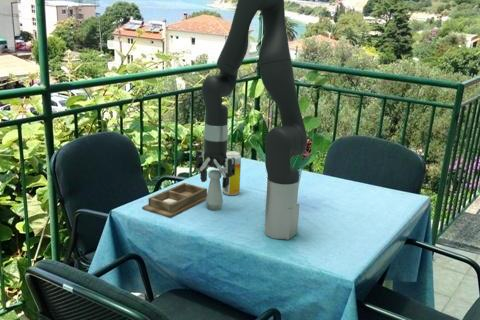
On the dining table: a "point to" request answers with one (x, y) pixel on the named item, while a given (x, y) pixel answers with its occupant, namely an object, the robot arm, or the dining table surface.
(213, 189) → the salt shaker
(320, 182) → the dining table surface
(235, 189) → the white yellow canister
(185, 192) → the slot caddy
